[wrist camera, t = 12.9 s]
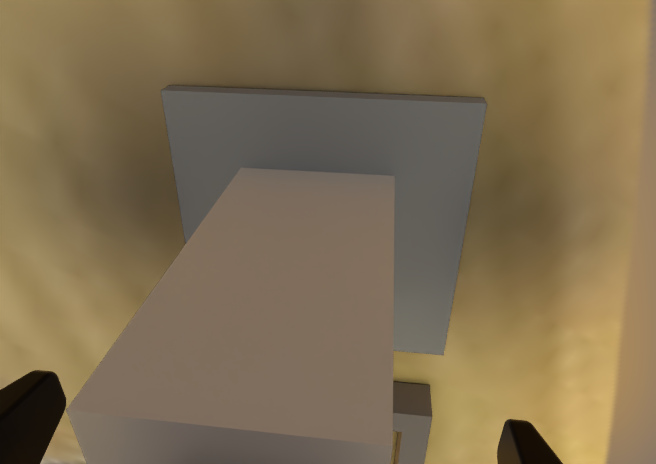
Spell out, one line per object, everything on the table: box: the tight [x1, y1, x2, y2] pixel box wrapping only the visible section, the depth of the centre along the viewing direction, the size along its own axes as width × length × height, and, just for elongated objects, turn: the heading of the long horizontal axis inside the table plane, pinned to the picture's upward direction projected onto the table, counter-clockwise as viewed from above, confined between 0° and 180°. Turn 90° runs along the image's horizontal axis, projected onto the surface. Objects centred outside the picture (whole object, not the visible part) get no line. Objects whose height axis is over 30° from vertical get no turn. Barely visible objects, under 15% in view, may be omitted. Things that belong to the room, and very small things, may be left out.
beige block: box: [66, 168, 395, 464], centre depth 11 cm, size 5×5×10 cm
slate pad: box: [161, 85, 487, 355], centre depth 16 cm, size 9×9×1 cm
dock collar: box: [393, 382, 432, 464], centre depth 21 cm, size 9×9×2 cm
